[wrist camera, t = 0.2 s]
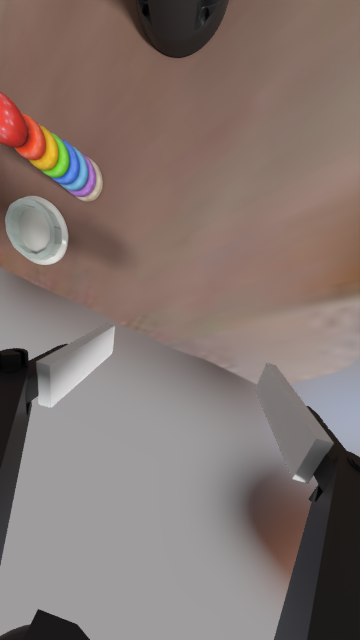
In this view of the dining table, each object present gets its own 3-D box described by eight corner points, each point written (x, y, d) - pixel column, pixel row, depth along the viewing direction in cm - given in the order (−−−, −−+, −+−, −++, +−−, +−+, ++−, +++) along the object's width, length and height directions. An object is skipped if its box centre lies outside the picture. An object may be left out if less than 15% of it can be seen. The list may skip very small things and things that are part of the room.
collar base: (9, 192, 40) (-4, 187, 38) (68, 202, 39) (59, 197, 37) (15, 258, 45) (4, 258, 42) (69, 269, 43) (60, 269, 41)
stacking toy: (92, 151, 36) (-21, 31, 18) (110, 191, 37) (24, 117, 19) (63, 172, 38) (-64, 83, 20) (82, 210, 39) (-20, 158, 21)
